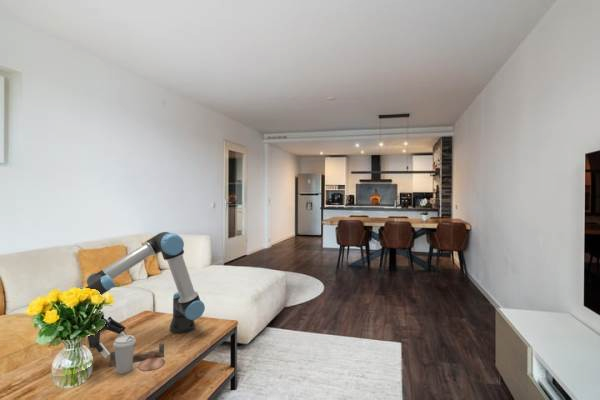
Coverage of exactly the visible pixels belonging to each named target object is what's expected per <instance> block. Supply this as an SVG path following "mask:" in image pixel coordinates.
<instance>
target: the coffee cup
mask: <svg viewBox="0 0 600 400" xmlns="http://www.w3.org/2000/svg"><path fill="white" fill-rule="evenodd" d="M136 342H137V340H136V338H135V336H134V335H130V334H129V335H127V334H126V336H121V337H119V336H118V337H116V338H115V340H114V342H113V345H112V346H113V347H114V352H115V361H116V366H115V373H117V375H118V374H120V375H122V374H126V373H129V372H130V371H132V369H133V363H134V362H133V354H135V353H134V351H135V346H136V345H135V344H136ZM132 362H133V363H132Z"/></svg>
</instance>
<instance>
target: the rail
mask: <svg viewBox="0 0 600 400" xmlns="http://www.w3.org/2000/svg"><path fill="white" fill-rule="evenodd" d="M109 353H110V354H109V357H110V358H109V367H116V361H115V351H112V352H109ZM164 356H165V343H159V344H158V349H155V350H150V351H145V352H140V353H139V352H138V353H133V362H132V364H133V363H138V362H139V363H138V365H137V368H138V370H140V371H143V372H151V371H156V370H158V369H160V368H162V367H164V365H165V363H166V360H165V359H164V358H163V357H164Z"/></svg>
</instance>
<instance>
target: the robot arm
mask: <svg viewBox="0 0 600 400" xmlns="http://www.w3.org/2000/svg"><path fill="white" fill-rule="evenodd" d="M184 247H185V242H184V240H183V237H182V236H181V235H179V234H177V233H172V232H168V231H164V232H159V233H157V234H156V235H154V236H152V237H151V238H149V239H147V240H146V241H144V244H143V245H141V246H139V247H138V248H136V249H134V250H133V251H131V252H129V253H128V254H126V255H125V256H122V257H120V259H117V260H116V261H115V262H113V263H111V264H110V265H107V266H106V267H105V268H103V269H100V270H99V271H98V272H95V273H91V274H89V276H88V277H87V279H86V284H87V286H86V287H85V288H90V289H96V290H98V291H99V292H100V294H101V296H103V295H104V294H106V293H107V292H108V291H111V289H113V288H115V285H116V283H115V281H114V279H116V278H117V277H119V276H121V275H122V274H123V273H125V272H127V271H128V270H130V269H132V268H133V267H135V266H137V265H138V264H140V263H142V262H143V261H144V260H146V259H147V258H149V257H151V256H155V255H157V254H160V253H161V255H162V258H163V260H165V261H166V262H167V264H168V267H169V269H170V273H171V276H172V278H173V281H174V284H175V287H176V289H177V292H175V293H174V294H173V299H172V319H171V321H170V325H169V331H170V332H171V333H174V334H183V333H184V334H185V333H188V332H191V331H193V330H195V329H196V321H195V320H198V319H199V318H201V317H202V316H203V314H204V312H205V309H206V305H205V303H204V302H203V301H202V300H201V299H200V296H199V293H198V291H195V289H194V285H193V283H192V280H191V277H190V274H189V271H188V268H187V265H186V262H185V260H184V256H183V255H184V254H185V251H184ZM76 288H80V289H83V288H84V287H82V286H77V287H76ZM99 312H102V311H101V310H100V309H99ZM101 319H104V320H106V324H105V326H104V327H103V328H102V329H101V330H99V331H98V333H97V334H95V335H90V336H87V342H88V346H89V349H96V351H98V353H100V355H102V356H103V358H104V359H106V358H108V356H110V353H111V352H109V351H108V349H107V348H106V347H105V346H104V344H103V343H102V342H100V340H101V333H102V332H103V331H110V332H113V333H115V334H118V337H121V336H126V335H127V334H126V332H125V330H126V326H124V325H122V324H121V323H120V322H118V321H116V320H115V319H113V318H112V316H109V317H108V318H107V319H106V318H105V314H103V315H102V317H101Z"/></svg>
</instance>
